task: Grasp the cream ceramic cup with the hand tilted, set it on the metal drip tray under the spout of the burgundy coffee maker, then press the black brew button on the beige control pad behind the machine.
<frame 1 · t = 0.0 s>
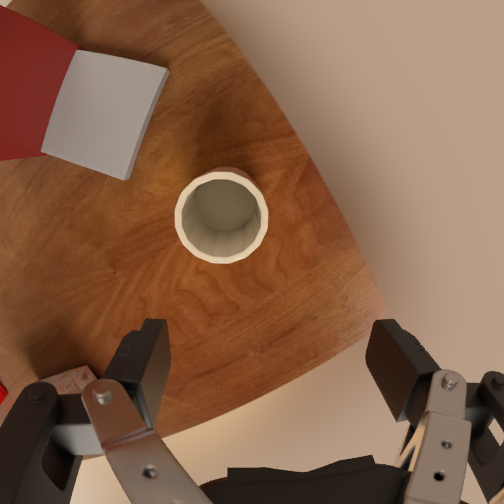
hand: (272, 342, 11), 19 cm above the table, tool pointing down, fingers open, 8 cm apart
food item: (75, 386, 36), on the table
cream cup: (225, 200, 28), on the table
coffee maker: (81, 105, 25), on the table
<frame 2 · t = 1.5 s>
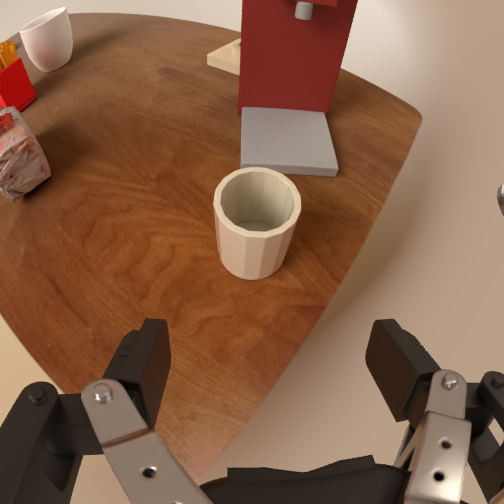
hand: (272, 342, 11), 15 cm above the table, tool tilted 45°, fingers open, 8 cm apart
food item: (25, 171, 33), on the table
cream cup: (252, 248, 30), on the table
coffee maker: (284, 128, 38), on the table
brew pad: (253, 64, 45), on the table
mug: (57, 63, 48), on the table
french fries container: (19, 103, 41), on the table
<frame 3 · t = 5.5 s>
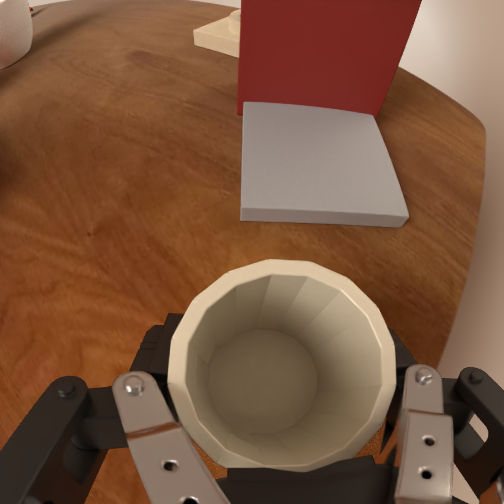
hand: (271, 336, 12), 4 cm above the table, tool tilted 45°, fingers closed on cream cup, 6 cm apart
cream cup: (262, 382, 15), on the table, touching gripper
coffee maker: (312, 138, 23), on the table
brew pad: (259, 44, 31), on the table
mug: (15, 57, 33), on the table
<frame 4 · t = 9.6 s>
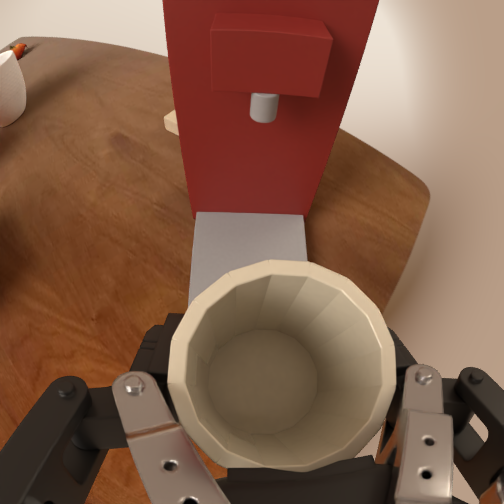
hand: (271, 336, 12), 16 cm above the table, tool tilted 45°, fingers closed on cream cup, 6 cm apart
cream cup: (262, 382, 15), point 12 cm above the table, touching gripper
coffee maker: (249, 241, 32), on the table
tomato: (17, 57, 56), on the table
mug: (13, 114, 42), on the table
when the fingers open (6 cm above the table, at t = 13.7 s): cream cup stays where it is, resting on coffee maker.
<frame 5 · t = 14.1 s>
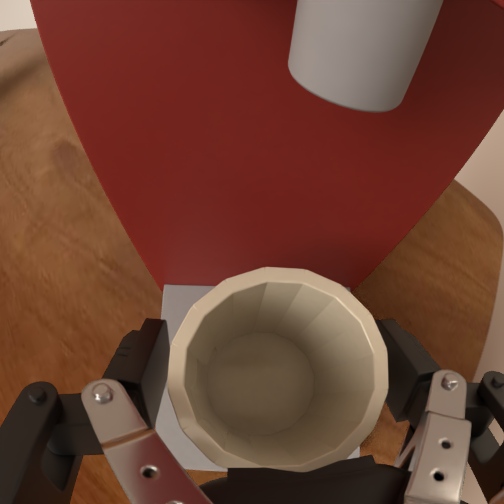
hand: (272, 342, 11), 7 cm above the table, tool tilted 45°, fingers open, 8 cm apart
cream cup: (260, 384, 15), point 1 cm above the table, touching coffee maker
coffee maker: (257, 334, 18), on the table
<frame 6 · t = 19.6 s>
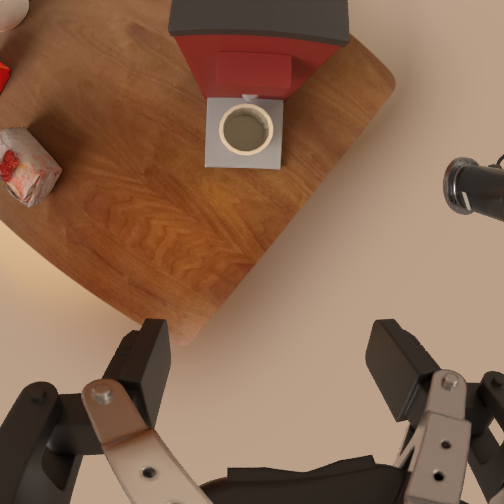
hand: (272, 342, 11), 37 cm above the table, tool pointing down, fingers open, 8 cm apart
food item: (37, 162, 42), on the table
cream cup: (244, 134, 42), point 1 cm above the table, touching coffee maker
coffee maker: (244, 115, 43), on the table
mug: (17, 12, 31), on the table
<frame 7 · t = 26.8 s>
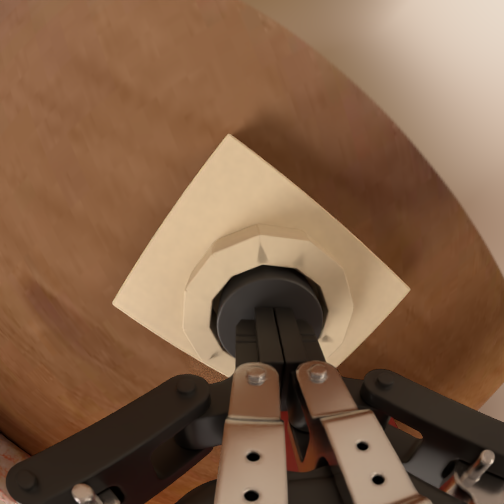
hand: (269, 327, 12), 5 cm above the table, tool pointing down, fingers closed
coffee maker: (294, 461, 22), on the table
brew button: (268, 316, 13), point 4 cm above the table, slide at -0.7 cm, touching gripper
brew pad: (262, 282, 17), on the table
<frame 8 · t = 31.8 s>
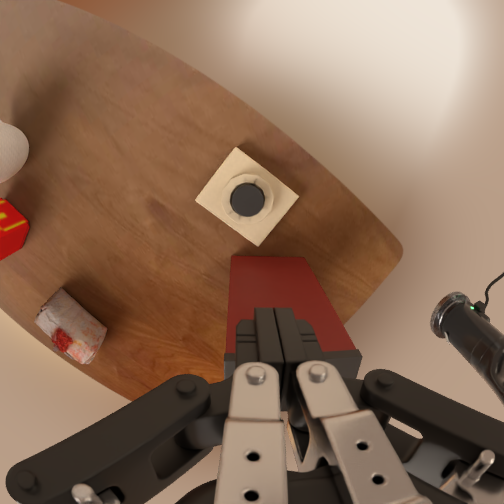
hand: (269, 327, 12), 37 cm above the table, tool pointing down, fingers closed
food item: (80, 316, 53), on the table
coffee maker: (265, 300, 53), on the table
brew button: (247, 200, 43), point 4 cm above the table, slide at 0.1 cm
brew pad: (246, 195, 47), on the table
mug: (16, 146, 42), on the table
french fries container: (13, 221, 46), on the table
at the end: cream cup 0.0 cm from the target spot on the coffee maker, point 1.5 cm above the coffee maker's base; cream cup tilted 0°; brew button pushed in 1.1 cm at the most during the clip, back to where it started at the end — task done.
